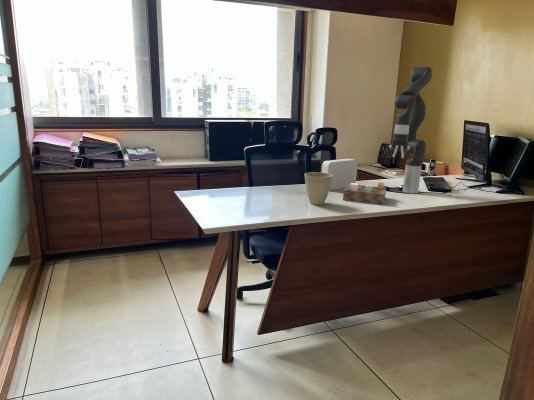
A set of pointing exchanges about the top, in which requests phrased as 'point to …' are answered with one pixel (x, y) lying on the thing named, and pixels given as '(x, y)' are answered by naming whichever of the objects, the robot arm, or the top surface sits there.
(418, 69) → the robot arm
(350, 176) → the rounded white slab
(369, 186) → the sage green button
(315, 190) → the plant pot
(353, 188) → the off-white button
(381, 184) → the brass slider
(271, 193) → the top surface
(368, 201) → the switch panel
